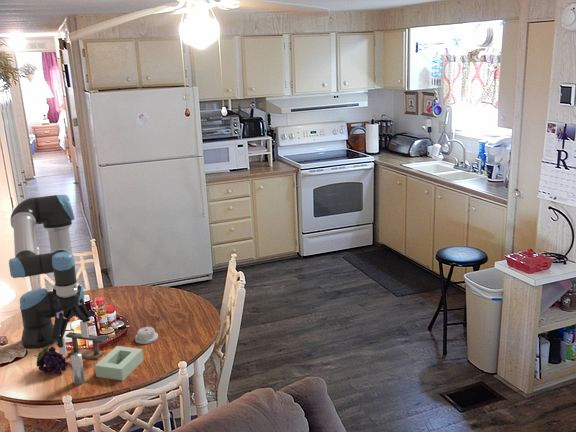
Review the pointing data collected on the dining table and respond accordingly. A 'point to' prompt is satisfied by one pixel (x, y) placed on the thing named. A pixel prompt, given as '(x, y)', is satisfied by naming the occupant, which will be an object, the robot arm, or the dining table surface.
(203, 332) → the dining table surface
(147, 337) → the mechanical component
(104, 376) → the slot block
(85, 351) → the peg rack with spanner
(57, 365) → the fruit
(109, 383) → the dining table surface
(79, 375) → the grey upright peg
